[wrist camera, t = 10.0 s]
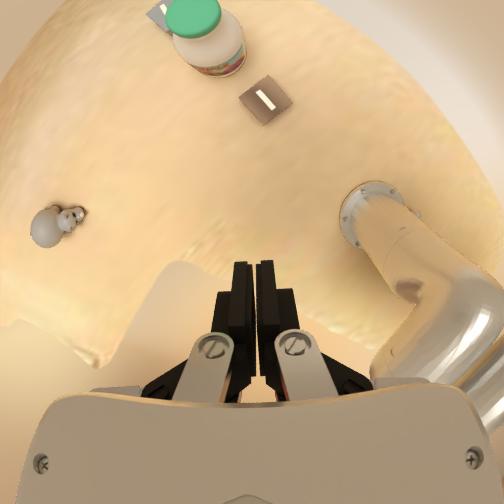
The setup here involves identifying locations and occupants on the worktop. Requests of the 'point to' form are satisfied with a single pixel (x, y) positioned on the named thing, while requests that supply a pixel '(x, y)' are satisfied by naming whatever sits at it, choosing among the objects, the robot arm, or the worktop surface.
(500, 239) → the worktop surface
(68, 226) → the chubby cartoon animal
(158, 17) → the slate grey block
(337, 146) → the worktop surface
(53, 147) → the worktop surface
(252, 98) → the walnut block
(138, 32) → the worktop surface
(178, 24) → the milk bottle
